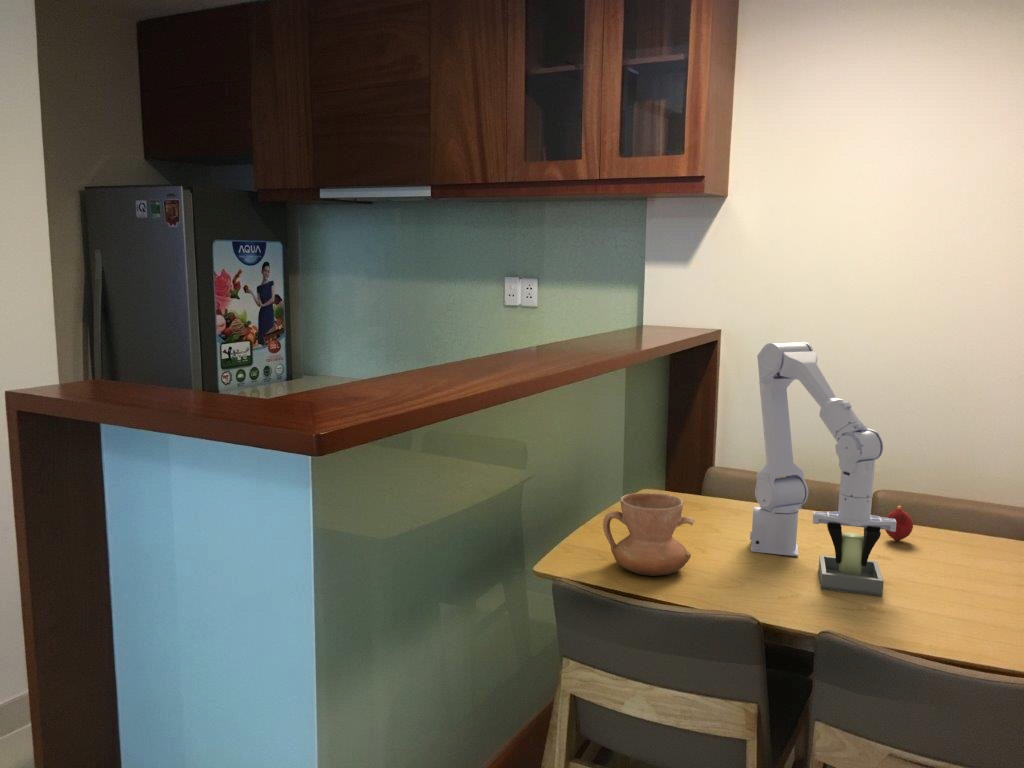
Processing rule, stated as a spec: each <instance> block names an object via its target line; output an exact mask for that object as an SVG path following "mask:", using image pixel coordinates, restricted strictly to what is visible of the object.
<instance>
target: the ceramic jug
mask: <svg viewBox="0 0 1024 768" xmlns="http://www.w3.org/2000/svg"><path fill="white" fill-rule="evenodd" d="M683 507H684V502H683V499H681V498H680V497H679V496H675V495H670V494H666V493H661V492H660V493H659V492H658V493H657V492H656V493H653V492H652V493H651V492H647V493H644V492H636V493H628V494H624V495H622V496H621V497H620V510H621V511H619V510H612V511H610V512H607V513H606V514H605V516H604V517H603V521H602V528H603V532H604V536H605V537H606V539H607V541H608V544H609V545H610V550H611V553H612V556H613V557H614V559H615V561H616V563H617V564H618V565H619V566H620V567H622V568H623V569H625V570H627V571H629V572H631V573H634V574H638V575H642V576H653V577H654V576H656V577H657V576H658V577H659V576H666V575H670V574H673V573H675V572H678V571H679V570H681V569H683V567H684V566H685V565H686V564H687V563H688V562H689V561H690V559H691V555H692V554H691V552H690V551H689V550H687V548H686V547H685V546H684V545H683V544H682V543H681V542H680V541H679V540H677V539H676V538H675V537H674V536H673V535H674V532H675V531H676V529H677V528H678V527H680V526H682V525H684V524H687V525H690V526H693V525H694V523H695V521H696V519H695V518H694V517H691V516H682V513H683V510H684V509H683ZM613 519H616V520H617V521H620V523H622V524H623V525H625V526H626V527H627V531H628V533H629V534H628V535H627V536H626V537H623V539H621V540H620V541H619V542H617V543H616V542H615V540H614V538H613V535H612V531H611V521H612V520H613Z"/></svg>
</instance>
